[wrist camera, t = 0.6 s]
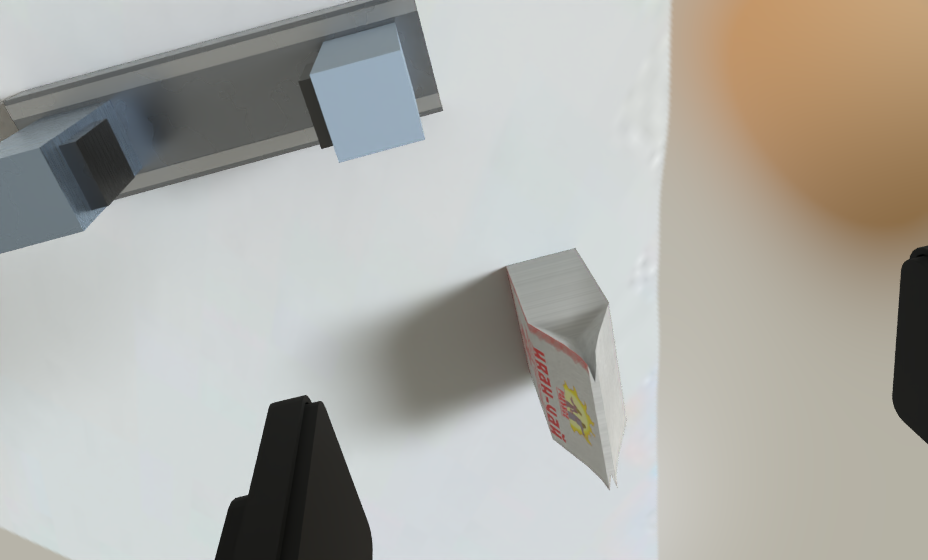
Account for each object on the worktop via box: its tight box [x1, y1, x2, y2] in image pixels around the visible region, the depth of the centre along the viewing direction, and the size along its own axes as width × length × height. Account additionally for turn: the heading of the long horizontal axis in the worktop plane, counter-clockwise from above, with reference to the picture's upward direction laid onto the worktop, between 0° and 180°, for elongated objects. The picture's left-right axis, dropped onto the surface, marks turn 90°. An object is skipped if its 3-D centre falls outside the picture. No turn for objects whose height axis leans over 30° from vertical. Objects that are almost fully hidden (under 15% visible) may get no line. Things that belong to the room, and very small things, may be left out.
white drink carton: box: [506, 248, 627, 490], centre depth 34 cm, size 4×7×10 cm, turn 13°
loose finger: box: [298, 22, 425, 163], centre depth 27 cm, size 3×4×7 cm
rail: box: [0, 0, 443, 254], centre depth 28 cm, size 5×17×9 cm, turn 104°
